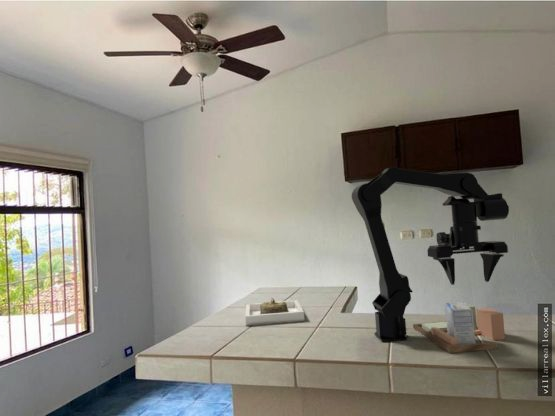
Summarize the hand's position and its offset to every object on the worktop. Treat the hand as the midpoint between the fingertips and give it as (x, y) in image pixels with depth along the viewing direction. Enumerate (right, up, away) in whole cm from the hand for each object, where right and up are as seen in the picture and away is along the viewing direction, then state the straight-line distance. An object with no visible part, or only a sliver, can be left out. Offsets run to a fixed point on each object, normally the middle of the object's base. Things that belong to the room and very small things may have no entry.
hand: (469, 283), depth 102 cm
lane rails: (-7, -12, -5) cm, 15 cm away
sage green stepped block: (-5, -13, +1) cm, 14 cm away
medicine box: (-6, -13, -9) cm, 17 cm away
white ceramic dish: (-51, -16, +29) cm, 60 cm away
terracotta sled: (-3, -12, -8) cm, 15 cm away
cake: (-50, -16, +29) cm, 61 cm away
